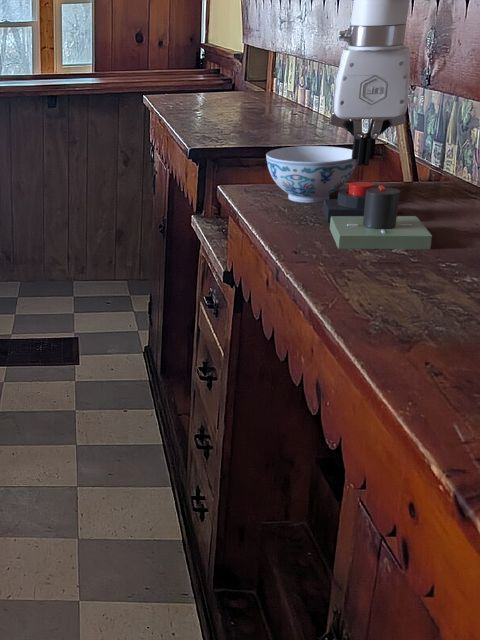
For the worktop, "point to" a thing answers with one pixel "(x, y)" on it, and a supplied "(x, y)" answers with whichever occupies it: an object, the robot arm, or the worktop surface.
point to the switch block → (344, 205)
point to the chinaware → (310, 171)
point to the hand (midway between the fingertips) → (361, 163)
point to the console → (379, 234)
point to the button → (359, 188)
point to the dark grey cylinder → (381, 208)
